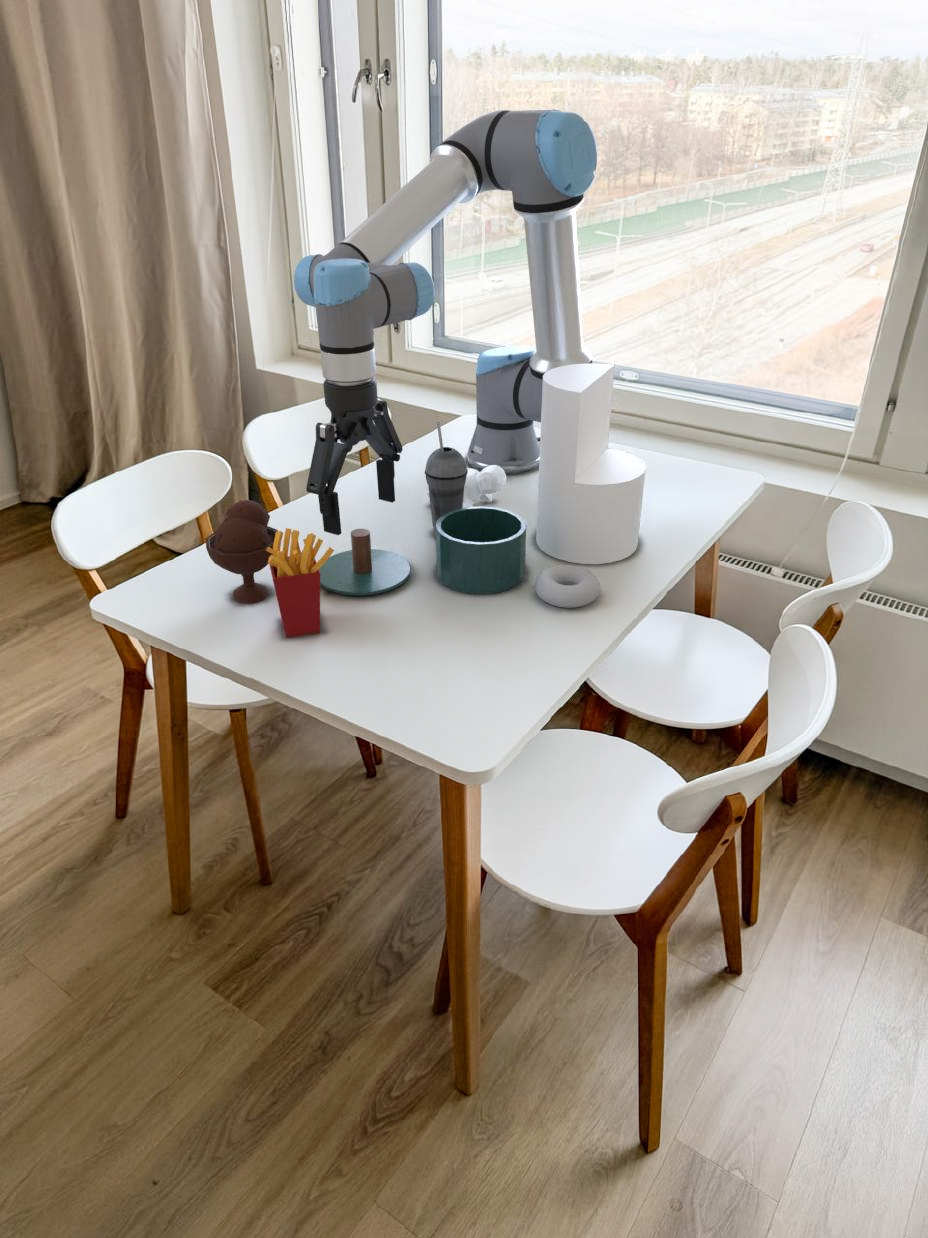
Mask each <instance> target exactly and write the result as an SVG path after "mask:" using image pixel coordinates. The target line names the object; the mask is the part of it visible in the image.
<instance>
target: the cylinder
mask: <svg viewBox="0 0 928 1238" xmlns="http://www.w3.org/2000/svg"><path fill="white" fill-rule="evenodd" d="M615 366H616V365H615V364H613V363H592V364H573V365H567V366H561V367H557V368H553V369H551V370H549V371H547V372H546V373H545V374H544V375H543V386H542V411H541V422H540V442H539V448H540V459H539V466H538V485H537V487H538V489H537V507H536V509H537V511H536V535H535V536H536V539H535V541H536V545H537V546H538V547H539V549H540V550H541V551H542V552H544V553H545V554H547V555H548V556H550V557H552V558H555V559H557V560H561V561H564V562H568V563H574V564H581V565H600V564H601V565H602V564H603V565H604V564H610V563H615V562H618V561H623V560H624V559H626V558H628V557H631V556H632V554H634V553H635V552H636V551H637V548H638V544H639V537H640V535H639V534H640V528H641V527H640V525H641V517H642V507H643V499H644V498H643V497H644V491H645V489H644V488H645V480H646V470H647V466H646V464H645V462H644V461H643V460H642V459H641V458H639V457H638V456H636V455H633V454H632V453H629V452H627V451H623V450H621V449H614V448H609V440H610V439H609V438H610V427H611V416H612V405H613V402H612V401H613V390H614V377H615Z"/></svg>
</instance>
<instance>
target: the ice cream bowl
mask: <svg viewBox="0 0 928 1238" xmlns="http://www.w3.org/2000/svg"><path fill="white" fill-rule="evenodd" d="M270 518H271V515H270V514H269V512H268V511H267V510H266V508H264V506H262V504H261V503H260V502H257V501H255V500H252V499H251V500H250V499H244V500H243V499H242V500H241V499H240V500H238V501H236V502H235V503H233V504H232V505H230V506H229V507H228V509H227V510H226V518H224V520H223V521H222V522H221V523H220V524H219V525H218V526H217V527H216V528H217V529H216V530H215V531H214V532H212V533H211V534H210V535H208V536H207V537H206V538H205V549H206V552H207V554H208V556H209V558H210V559H211V561H212V562H213V564H215V565H217V567H220V568H221V569H223V570H225V571H227V572H229V573H232V574H235V575H240V576H241V577H242V583H243V584H241V585H239V586H238V587H237V588H235V589H234V590H233V592H232V599H233V601H235V602H238V603H239V604H240V603H241V604H254V603H258V602H260V601H261V602H262V601H264V600H265V599H267V597H268V596H269V595H270V594H269V593H270V592H269V589H268V587H267V586H266V585H263V584H261V583H258V582H255V581H256V580H255V574H256V573H258V572H260V571H262V570H263V569H265V567H266V566H268V565H269V564H268V560H269V557H270V556H271V555H272V556H273V554H272V553H270V552H268V551H266V550H267V548H268V547H270V548H271V549H273V545H274V539H275V535H276V531H279V529H277V528H275V527H271V526H269V521H270V520H271V519H270Z"/></svg>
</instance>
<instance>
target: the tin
mask: <svg viewBox="0 0 928 1238" xmlns="http://www.w3.org/2000/svg"><path fill="white" fill-rule="evenodd" d="M526 549H527V522H526V520H525V519H524V518H523V517H522V516H521V515H520V514H517V513H515V512H514V511H511V510H508V509H505V508H500V507H496V506H480V505H479V506H474V507H466V508H461V509H457V510H453V511H451V512H448V513H446V514H444V515H442V516H441V517H440V518H439V519H438V520H437V521H436V536H435V555H436V556H435V565H436V567H435V568H436V576H437V579H438V580H439V582H440V583H441V584H442V585H444V587H447V588H449V589H450V590H453V591H456V592H461V593H465V594H470V595H471V594H472V595H491V594H497V593H498V594H499V593H502V592H505V591H509V590H511V589H513V588H515V587H516V586H518V585H520V583H522V581H523V580H524V577H525V573H526V551H527V550H526Z"/></svg>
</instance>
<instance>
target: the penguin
mask: <svg viewBox="0 0 928 1238" xmlns="http://www.w3.org/2000/svg"><path fill="white" fill-rule="evenodd" d="M467 470H468V473H467V476H466V482H465V485H464V496H463V508H466V507H475V504H474V502H476V501H477V500H479V499H481V500H482V501H483V502H485V503H491V502H492V501H493V496H492V494H496V493H499V492H500V491H501V490H502V489H503V488H504V487H505V485H506V483H507V474H505V472H504V470H503V469H502V468H501V467H500V466H497V465H490V466H488V467H486V468H484V469H483V470H482V471H481V470H478V469H475V468H471V467H467ZM426 495H427V496H428V500H429V502H430V497H429V490H428V491H427V492H426Z"/></svg>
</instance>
